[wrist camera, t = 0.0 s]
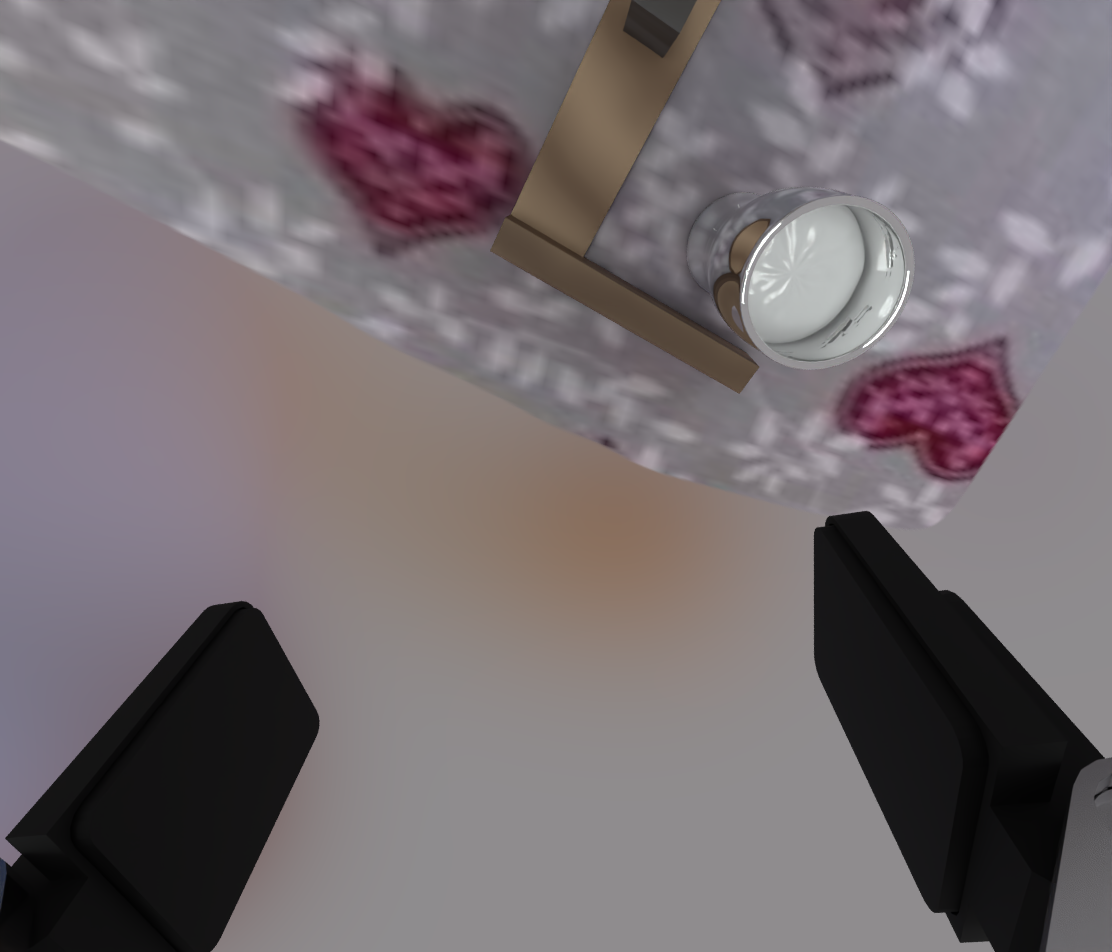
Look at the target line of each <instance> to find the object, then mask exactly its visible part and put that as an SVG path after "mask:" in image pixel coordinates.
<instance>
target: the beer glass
mask: <svg viewBox="0 0 1112 952" xmlns="http://www.w3.org/2000/svg"><path fill="white" fill-rule="evenodd" d="M687 263H688V267H689V270H690V272H691V275H692V276H693V278H694V280H695V281H696V282H697V284H698V285H699V286H700V287H701V288H703V289H704V290H705V291H707V292H708V293H710V294H711V297H712V300H713V302H714V305H715V307H716V309H717V311H718V313H719V314H720V316H721V317H722V318H723V320H724V321H725V322H726V323H727V325H728V326H729V327H730V328H731V329H732V330H733V331H734V332H735V333H736V334H737V335H738V336H739V337H740V338H742V339H743V340H744V341H745V342H747V343H748V344H749V345H751V346H753V347H754V348H756V349H757V350H759V351H760V352H762V353H763V354H764V355H766V356H767V357H768V358H770V359H771V360H773V361H775V362H777V363H779V364H781V365H784V366H787V367H791V368H795V369H803V370H817V369H825V368H830V367H834V366H837V365H840V364H843V363H845V362H848V361H850V360H852V359H854V358H856V357H858V356H860V355H861V354H863V353H864V352H866V351H867V350H869V349H870V348H871V347H873V346H874V345H875V344H876V343H877V342H878V341H880V340H881V339H882V338H883V337H884V336H885V335H886V333H887V332H888V331H889V330H890V329H891V328H892V326H893V325H894V324H895V322H896V321H897V319H898V318H899V316H900V314H901V313H902V311H903V309H904V307H905V305H906V303H907V300H908V298H909V295H910V292H911V288H912V284H913V279H914V270H915V260H914V251H913V246H912V243H911V240H910V237H909V235H908V232H907V230H906V229H905V227H904V225H903V224H902V222H901V221H900V220H899V218H898V217H897V216H896V215H895V214H894V213H893V212H892V211H890V210H889V209H888V208H886V207H885V206H883V205H882V204H880V203H878V202H876V201H874V200H871V199H868V198H865V197H861V196H855V195H851V194H848V193H844V192H840V191H837V190H832V189H826V188H819V187H790V188H784V189H779V190H775V191H772V192H769V193H767V194H764V195H758V194H755V193H749V192H739V193H733V194H729V195H726V196H724V197H721V198H719V199H718V200H716V201H714V202H713V203H712V204H710V205H709V206H708V207H707V208H706V209H705V210H704V211H703V212H702V213H701V214H700V215H699V217H698V218H697V220H696V221H695V223H694V225H693V227H692V229H691V232H690V234H689V238H688V243H687Z"/></svg>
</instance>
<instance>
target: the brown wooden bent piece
mask: <svg viewBox="0 0 1112 952" xmlns="http://www.w3.org/2000/svg"><path fill="white" fill-rule="evenodd" d="M720 1H721V0H610V2H609V4H608V6H607V8H606V10H605V12H604V14H603V17H602V19H601V21H600V23H599V25H598V27H597V30H596V32H595V34H594V36H593V38H592V40H591V43H590V45H589V47H588V49H587V51H586V53H585V56H584V58H583V60H582V62H581V64H580V66H579V69H578V71H577V73H576V75H575V77H574V79H573V81H572V84H571V86H570V88H569V90H568V92H567V94H566V97H565V99H564V101H563V103H562V105H561V107H560V110H559V112H558V114H557V116H556V118H555V120H554V123H553V125H552V127H551V129H550V131H549V133H548V136H547V138H546V140H545V142H544V144H543V146H542V148H541V151H540V153H539V155H538V157H537V159H536V161H535V164H534V166H533V168H532V170H531V172H530V174H529V177H528V179H527V181H526V183H525V185H524V187H523V190H522V192H521V194H520V196H519V198H518V200H517V203H516V205H515V207H514V209H513V211H512V213H511V215H509V216H507V217H506V218H505V220H504V222H503V224H502V226H501V228H500V231H499V233H498V235H497V237H496V239H495V241H494V244H493V246H492V248H491V250H490V251H491V252H493V253H495V254H496V255H498V256H500V257H502V258H503V259H505V260H507V261H509V262H510V263H512V264H514V265H516V266H517V267H519V268H521V269H523V270H524V271H526V272H528V273H530V274H531V275H533V276H535V277H536V278H538V279H540V280H542V281H543V282H545V283H547V284H549V285H550V286H552V287H554V288H556V289H557V290H559V291H561V292H563V293H564V294H566V295H568V296H570V297H571V298H573V299H575V300H577V301H578V302H580V303H582V304H584V305H585V306H587V307H589V308H591V309H592V310H594V311H596V312H598V313H599V314H601V315H603V316H605V317H606V318H608V319H610V320H612V321H613V322H615V323H617V324H619V325H620V326H622V327H624V328H626V329H627V330H629V331H631V332H632V333H634V334H636V335H638V336H639V337H641V338H643V339H645V340H646V341H648V342H650V343H652V344H653V345H655V346H657V347H659V348H660V349H662V350H664V351H666V352H667V353H669V354H671V355H673V356H674V357H676V358H678V359H680V360H681V361H683V362H685V363H687V364H688V365H690V366H692V367H694V368H695V369H697V370H699V371H701V372H702V373H704V374H706V375H708V376H709V377H711V378H713V379H715V380H716V381H718V382H720V383H721V384H723V385H725V386H727V387H728V388H730V389H732V390H734V391H735V392H737V393H739V394H740V392H741V391H742V390H743V388H744V387H745V386H746V384H747V383H748V381H749V380H750V379H751V377H752V376H753V375H754V373H755V372H756V371H757V369H758V368H759V366H758V365H757V364H756V363H755V362H754V361H753V359H752V358H751V357H750V356H749V355H748V354H747V353H746V352H744V351H742V350H741V349H739V348H737V347H736V346H734V345H732V344H731V343H729V342H727V341H726V340H724V339H722V338H720V337H719V336H717V335H715V334H714V333H712V332H710V331H709V330H707V329H705V328H704V327H702V326H700V325H698V324H697V323H695V322H693V321H692V320H690V319H688V318H687V317H685V316H683V315H682V314H680V313H678V312H676V311H675V310H673V309H671V308H670V307H668V306H666V305H665V304H663V303H661V302H660V301H658V300H656V299H654V298H653V297H651V296H649V295H648V294H646V293H644V292H643V291H641V290H639V289H638V288H636V287H634V286H632V285H631V284H629V283H627V282H626V281H624V280H622V279H621V278H619V277H617V276H616V275H614V274H612V273H610V272H609V271H607V270H605V269H604V268H602V267H600V266H599V265H597V264H595V263H594V262H592V261H590V260H588V259H587V258H585V257H584V255H585V253H586V251H587V249H588V247H589V246H590V244H591V242H592V240H593V238H594V236H595V234H596V232H597V231H598V229H599V227H600V225H601V223H602V221H603V219H604V218H605V216H606V214H607V212H608V210H609V208H610V206H611V204H612V203H613V201H614V199H615V197H616V195H617V193H618V191H619V189H620V188H621V186H622V184H623V182H624V180H625V178H626V176H627V175H628V173H629V171H630V169H631V167H632V165H633V163H634V161H635V160H636V158H637V156H638V154H639V152H640V150H641V148H642V147H643V145H644V143H645V141H646V139H647V137H648V135H649V133H650V132H651V130H652V128H653V126H654V124H655V122H656V120H657V118H658V117H659V115H660V113H661V111H662V109H663V107H664V105H665V104H666V102H667V100H668V98H669V96H670V94H671V92H672V90H673V89H674V87H675V85H676V83H677V81H678V79H679V77H680V76H681V74H682V72H683V70H684V68H685V66H686V64H687V62H688V61H689V59H690V57H691V55H692V53H693V51H694V49H695V47H696V46H697V44H698V42H699V40H700V38H701V36H702V34H703V33H704V31H705V29H706V27H707V25H708V23H709V21H710V19H711V18H712V16H713V14H714V12H715V10H716V8H717V6H718V5H719V3H720Z"/></svg>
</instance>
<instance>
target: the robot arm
mask: <svg viewBox="0 0 1112 952" xmlns="http://www.w3.org/2000/svg"><path fill="white" fill-rule="evenodd" d="M814 658H815V665H816V669H817V672H818V675H819V678H820V680H821V683H822V685H823V687H824V689H825V691H826V693H827V696H828V698H829V699H830V702H831V704H832V706H833V708H834V710H835V712H836V715H837V717H838V719H839V721H840V723H841V725H842V727H843V730H844V732H845V734H846V736H847V738H848V740H849V742H850V744H851V747H852V749H853V751H854V753H855V755H856V757H857V759H858V761H859V763H860V766H861V768H862V770H863V772H864V774H865V776H866V778H867V780H868V783H869V785H870V787H871V789H872V791H873V793H874V795H875V797H876V800H877V802H878V804H879V806H880V808H881V810H882V812H883V814H884V816H885V819H886V821H887V823H888V825H889V827H890V829H891V831H892V834H893V836H894V838H895V840H896V842H897V844H898V846H899V848H900V850H901V853H902V855H903V857H904V859H905V861H906V863H907V865H908V867H909V869H910V872H911V874H912V876H913V878H914V880H915V882H916V884H917V887H918V888H919V891H920V893H921V895H922V897H923V899H924V901H925V902H926V904H927V905H928V907H929V909H930V910H931V911H932V912H934V913H943V912H945V913H946V915H947V917H948V919H949V921H950V923H951V925H952V927H953V929H954V931H955V933H956V935H957V937H958V939H959V941H960V943H964V942H983V941H989V942H990V943H991V945H992V947H993V949H994V951H995V952H1112V758H1106V759H1105V758H1104V757H1103V756H1102V755H1101V754H1100V753H1099V751H1098V750H1097V749H1096V748H1095V747H1094V746H1093V744H1092V743H1091V742H1090V741H1089V740H1088V739H1087V738H1086V737H1085V736H1084V734H1083V733H1082V732H1081V731H1080V730H1079V729H1078V728H1077V727H1076V726H1075V724H1074V723H1073V722H1072V721H1071V720H1070V719H1069V718H1068V717H1067V716H1066V714H1065V713H1064V712H1063V711H1062V710H1061V709H1060V708H1059V707H1058V705H1057V704H1056V703H1055V702H1054V701H1053V700H1052V699H1051V698H1050V697H1049V696H1048V694H1047V693H1046V692H1045V691H1044V690H1043V689H1042V688H1041V687H1040V685H1039V684H1038V683H1037V682H1036V681H1035V680H1034V679H1033V678H1032V677H1031V675H1030V674H1029V673H1028V672H1027V671H1026V670H1025V669H1024V668H1023V667H1022V665H1021V664H1020V663H1019V662H1018V661H1017V660H1016V659H1015V658H1014V656H1013V655H1012V654H1011V653H1010V652H1009V651H1008V650H1007V649H1006V648H1005V647H1004V646H1003V644H1002V643H1001V642H1000V641H999V640H998V639H997V638H996V636H995V635H994V634H993V633H992V632H991V631H990V630H989V629H988V627H987V626H986V625H985V624H984V623H983V622H982V621H981V620H980V619H979V618H978V616H977V615H976V614H975V613H974V612H973V611H972V610H971V609H970V607H968V605H967V604H966V603H965V602H964V601H963V600H962V599H961V598H960V597H959V596H958V595H956V594H955V593H953V592H951V591H948V590H944V591H938V590H937V589H936V588H935V586H934V585H933V584H932V583H931V582H930V580H929V579H928V578H927V577H926V576H925V575H924V574H923V572H922V571H921V570H920V569H919V568H918V566H917V565H916V564H915V563H914V562H913V561H912V560H911V558H909V556H908V555H907V554H906V553H905V551H904V550H903V549H902V548H901V547H900V546H899V544H898V543H897V542H896V541H895V540H894V538H893V537H892V536H891V535H890V534H889V533H888V532H887V530H886V529H885V528H884V527H883V526H882V524H881V523H880V522H879V521H878V520H877V519H876V517H875V516H874V515H873V514H872V513H870V512H869V511H862V512H855V513H848V514H841V515H835V516H829V517H828V518H827V520H826V522H825V527H818V528H816V529H815V532H814ZM318 730H319V716H318V713H317V711H316V709H315V707H314V705H313V703H312V702H311V700H310V698H309V696H308V694H307V693H306V691H305V689H304V687H303V685H302V684H301V682H300V680H299V678H298V676H297V675H296V673H295V671H294V669H293V667H292V666H291V664H290V662H289V660H288V659H287V657H286V655H285V653H284V651H283V649H282V648H281V646H280V644H279V642H278V640H277V639H276V637H275V635H274V633H273V631H272V630H271V628H270V626H269V624H268V622H267V621H266V619H265V617H264V615H263V614H262V612H261V611H260V610H258V609H257V608H253V606H252V605H251V604H249V603H248V602H244V601H239V602H233V603H225V604H218V605H213V606H210V607H208V608H207V609H206V610H204V612H202V614H201V615H200V616H199V617H198V618H197V619H196V620H195V622H194V623H193V624H192V625H191V626H190V627H189V628H188V630H187V631H186V632H185V633H184V634H183V635H182V636H181V638H180V639H179V640H178V641H177V642H176V643H175V644H174V646H173V647H172V648H171V649H170V650H169V651H168V653H167V654H166V655H165V656H164V657H163V658H162V659H161V660H160V662H159V663H158V664H157V665H156V666H155V667H154V669H153V670H152V671H151V672H150V673H149V674H148V675H147V677H146V678H145V679H144V680H143V681H142V682H141V683H140V684H139V686H138V687H137V688H136V689H135V690H134V692H133V693H132V694H131V695H130V696H129V697H128V698H127V699H126V701H125V702H124V703H123V704H122V705H121V706H120V708H119V709H118V710H117V711H116V712H115V713H114V714H113V715H112V717H111V718H110V719H109V720H108V721H107V722H106V723H105V725H104V726H103V727H102V728H101V729H100V730H99V731H98V733H97V734H96V735H95V736H94V737H93V738H92V739H91V741H90V742H89V743H88V744H87V745H86V747H84V749H83V750H82V751H81V752H80V753H79V754H78V755H77V757H76V758H75V759H74V760H73V761H72V762H71V763H70V765H69V766H68V767H67V768H66V769H65V770H64V772H63V773H62V774H61V775H60V776H59V777H58V778H57V780H56V781H55V782H54V783H53V784H52V785H51V786H50V788H49V789H48V790H47V791H46V792H45V793H44V794H43V796H42V797H41V798H40V799H39V800H38V801H37V802H36V804H35V805H34V806H33V807H32V808H31V809H30V810H29V812H28V813H27V814H26V815H25V816H24V817H23V818H22V820H21V821H20V822H19V823H18V824H17V825H16V826H15V828H14V829H13V830H12V831H11V832H10V834H8V836H7V837H6V838H5V839H6V840H7V841H8V842H9V843H10V844H11V845H12V846H14V847H15V848H16V849H17V850H18V851H19V852H20V853H21V854H22V855H21V856H20V857H19V858H18V860H17V861H16V862H15V863H14V864H13V866H12V867H11V866H10V865H8V864H7V863H6V862H5V861H4V860H3V859H1V858H0V952H210V951H212V950H213V948H214V947H215V946H216V945H217V943H218V941H219V940H220V938H221V936H222V934H223V932H224V929H225V927H226V925H227V923H228V921H229V919H230V917H231V915H232V913H233V911H234V909H235V906H236V904H237V902H238V900H239V898H240V896H241V894H242V892H243V889H244V888H245V885H246V883H247V881H248V879H249V877H250V875H251V873H252V871H253V868H254V867H255V864H256V862H257V860H258V858H259V856H260V854H261V852H262V850H263V848H264V845H265V843H266V841H267V839H268V837H269V835H270V833H271V831H272V829H273V827H274V825H275V822H276V820H277V818H278V816H279V814H280V812H281V810H282V808H283V805H284V804H285V801H286V799H287V797H288V795H289V793H290V791H291V789H292V787H293V785H294V782H295V780H296V778H297V776H298V774H299V772H300V770H301V768H302V766H303V764H304V762H305V759H306V757H307V755H308V753H309V751H310V749H311V747H312V745H313V743H314V740H315V738H316V736H317V734H318Z"/></svg>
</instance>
